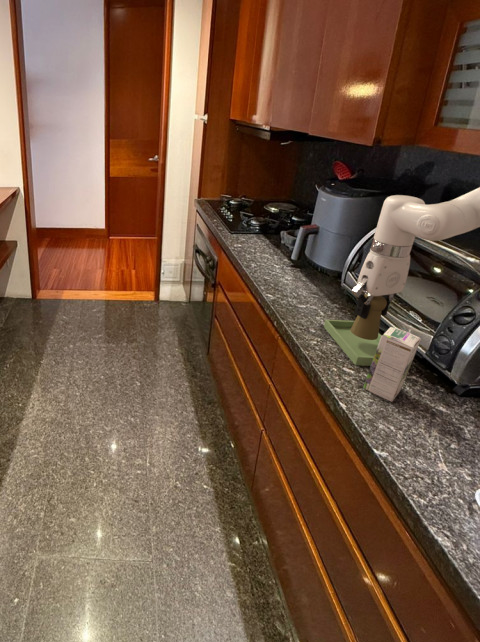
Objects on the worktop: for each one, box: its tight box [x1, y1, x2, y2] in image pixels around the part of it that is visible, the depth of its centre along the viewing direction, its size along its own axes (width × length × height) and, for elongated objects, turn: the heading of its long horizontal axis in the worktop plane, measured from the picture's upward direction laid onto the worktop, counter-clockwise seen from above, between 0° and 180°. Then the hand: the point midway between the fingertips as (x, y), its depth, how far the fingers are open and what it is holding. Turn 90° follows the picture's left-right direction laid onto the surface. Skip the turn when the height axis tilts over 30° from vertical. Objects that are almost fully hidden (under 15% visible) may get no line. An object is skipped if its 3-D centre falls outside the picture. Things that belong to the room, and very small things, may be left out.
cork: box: [351, 293, 387, 340], centre depth 98 cm, size 6×6×11 cm
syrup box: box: [362, 326, 422, 403], centre depth 84 cm, size 6×6×14 cm
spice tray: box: [323, 319, 383, 367], centre depth 102 cm, size 17×11×2 cm, turn 175°
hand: (370, 313), depth 98 cm, fingers closed on cork, 5 cm apart
